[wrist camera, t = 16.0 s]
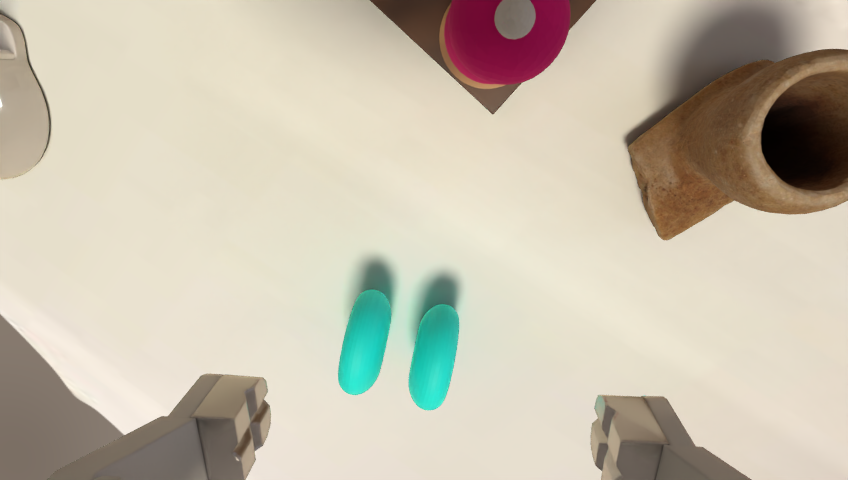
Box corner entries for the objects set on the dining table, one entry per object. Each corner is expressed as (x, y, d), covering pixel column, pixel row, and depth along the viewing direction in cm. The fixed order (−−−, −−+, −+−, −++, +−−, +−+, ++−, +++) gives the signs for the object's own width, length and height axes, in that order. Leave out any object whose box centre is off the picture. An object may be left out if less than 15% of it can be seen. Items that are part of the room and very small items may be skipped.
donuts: (442, 370, 53) (438, 437, 44) (352, 351, 53) (329, 414, 44) (462, 289, 49) (462, 344, 40) (365, 269, 49) (343, 319, 40)
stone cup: (755, 18, 39) (919, -2, 25) (816, 138, 42) (995, 180, 28) (588, 134, 43) (649, 171, 29) (654, 235, 46) (739, 315, 32)
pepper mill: (546, -8, 38) (628, -69, 19) (524, 88, 40) (578, 116, 22) (454, -24, 38) (447, -99, 19) (439, 73, 40) (419, 90, 22)
